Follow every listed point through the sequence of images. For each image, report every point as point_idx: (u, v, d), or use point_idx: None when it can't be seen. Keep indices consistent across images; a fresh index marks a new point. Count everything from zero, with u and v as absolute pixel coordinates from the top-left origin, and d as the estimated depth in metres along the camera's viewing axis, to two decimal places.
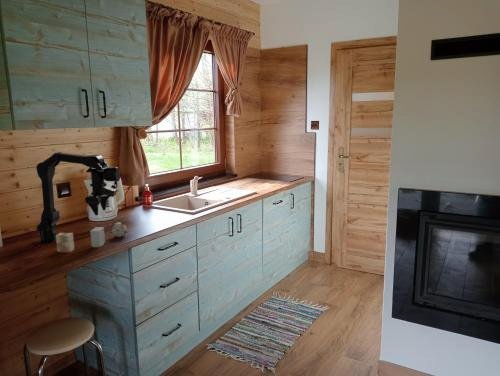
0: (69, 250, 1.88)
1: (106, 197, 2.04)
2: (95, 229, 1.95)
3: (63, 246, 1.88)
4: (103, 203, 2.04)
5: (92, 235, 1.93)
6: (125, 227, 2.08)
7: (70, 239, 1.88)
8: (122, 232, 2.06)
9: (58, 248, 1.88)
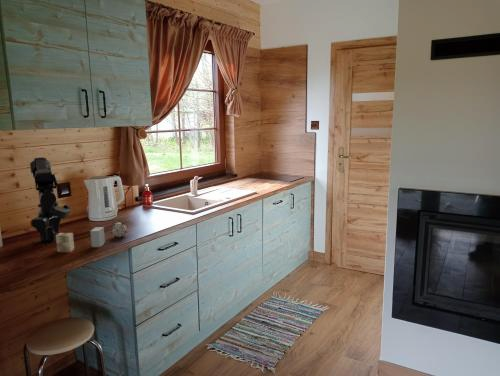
0: (69, 250, 1.88)
1: (59, 218, 1.81)
2: (95, 229, 1.95)
3: (63, 246, 1.88)
4: (56, 225, 1.81)
5: (92, 235, 1.93)
6: (125, 227, 2.08)
7: (70, 239, 1.88)
8: (122, 232, 2.06)
9: (58, 248, 1.88)
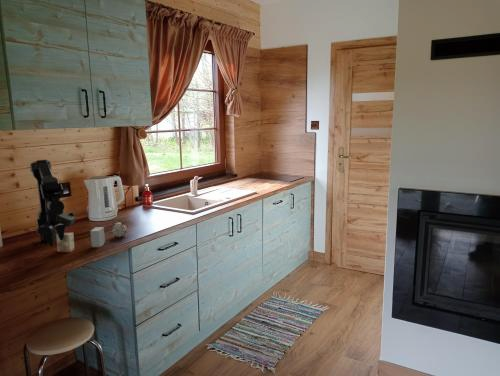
0: (69, 250, 1.88)
1: (63, 226, 1.86)
2: (95, 229, 1.95)
3: (63, 246, 1.88)
4: (61, 232, 1.86)
5: (92, 235, 1.93)
6: (125, 227, 2.08)
7: (70, 238, 1.88)
8: (122, 232, 2.06)
9: (58, 247, 1.88)
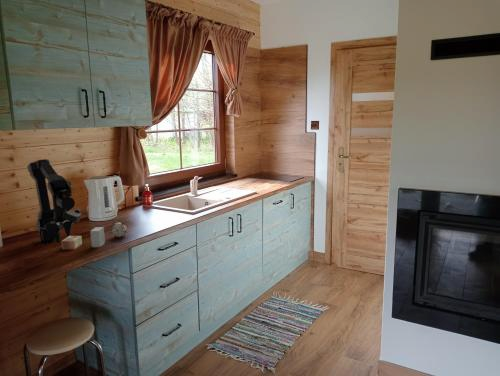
0: (73, 240, 1.92)
1: (70, 222, 1.92)
2: (95, 229, 1.95)
3: (70, 239, 1.94)
4: (68, 228, 1.92)
5: (92, 235, 1.93)
6: (125, 227, 2.08)
7: (79, 239, 1.97)
8: (122, 232, 2.06)
9: (64, 239, 1.93)
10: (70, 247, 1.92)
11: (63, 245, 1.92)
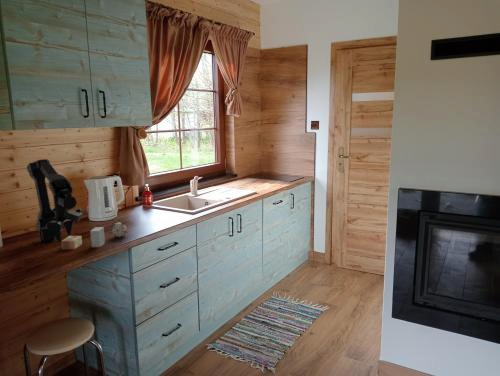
0: (73, 240, 1.92)
1: (71, 221, 1.93)
2: (95, 229, 1.95)
3: (70, 239, 1.94)
4: (69, 228, 1.93)
5: (92, 235, 1.93)
6: (125, 227, 2.08)
7: (79, 239, 1.97)
8: (122, 232, 2.06)
9: (64, 240, 1.93)
10: (70, 247, 1.92)
11: (63, 245, 1.92)
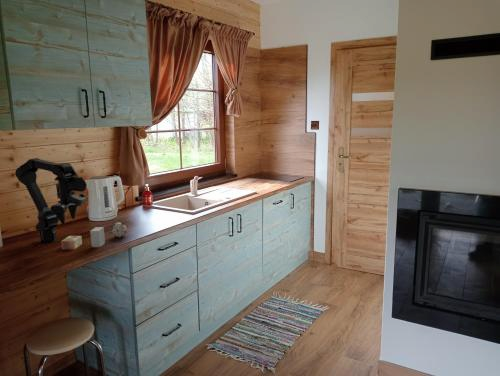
0: (73, 240, 1.92)
1: (75, 205, 2.01)
2: (95, 229, 1.95)
3: (70, 239, 1.94)
4: (73, 211, 2.01)
5: (92, 235, 1.93)
6: (125, 227, 2.08)
7: (79, 239, 1.97)
8: (122, 232, 2.06)
9: (64, 240, 1.93)
10: (70, 247, 1.92)
11: (63, 245, 1.92)
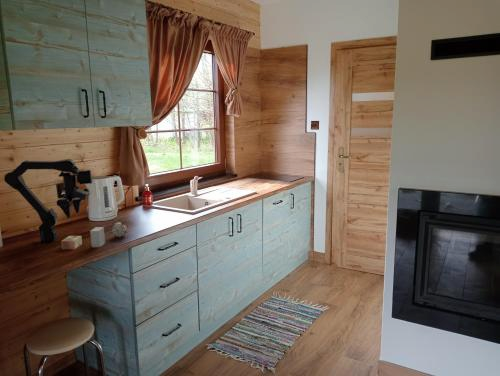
0: (73, 240, 1.92)
1: (79, 200, 2.09)
2: (95, 229, 1.95)
3: (70, 239, 1.94)
4: (77, 206, 2.09)
5: (92, 235, 1.93)
6: (125, 227, 2.08)
7: (79, 239, 1.97)
8: (122, 232, 2.06)
9: (64, 240, 1.93)
10: (70, 247, 1.92)
11: (63, 245, 1.92)
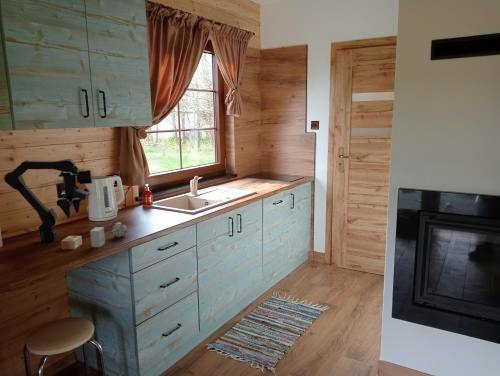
0: (73, 240, 1.92)
1: (79, 200, 2.09)
2: (95, 229, 1.95)
3: (70, 239, 1.94)
4: (77, 206, 2.10)
5: (92, 235, 1.93)
6: (125, 227, 2.08)
7: (79, 239, 1.97)
8: (122, 232, 2.06)
9: (64, 240, 1.93)
10: (70, 247, 1.92)
11: (63, 245, 1.92)
